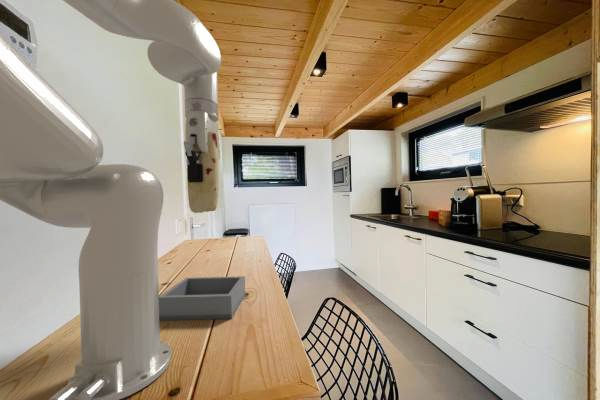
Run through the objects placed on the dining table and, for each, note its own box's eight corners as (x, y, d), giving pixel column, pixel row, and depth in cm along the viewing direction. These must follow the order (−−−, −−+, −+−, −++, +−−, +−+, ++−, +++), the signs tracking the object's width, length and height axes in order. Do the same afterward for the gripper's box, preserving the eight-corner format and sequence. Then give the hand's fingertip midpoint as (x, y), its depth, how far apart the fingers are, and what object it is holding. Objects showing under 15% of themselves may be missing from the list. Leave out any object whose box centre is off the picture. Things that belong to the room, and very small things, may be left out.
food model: (226, 212, 57) (224, 128, 57) (198, 213, 52) (196, 122, 52) (208, 211, 64) (207, 136, 64) (182, 212, 59) (180, 132, 59)
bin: (231, 318, 52) (231, 295, 52) (158, 320, 52) (157, 297, 52) (245, 294, 65) (244, 276, 65) (186, 295, 65) (186, 277, 65)
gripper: (202, 96, 49) (204, 180, 49) (228, 123, 67) (229, 185, 67) (166, 97, 49) (168, 181, 49) (201, 123, 67) (202, 185, 67)
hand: (203, 183), depth 58 cm, fingers closed on food model, 8 cm apart
